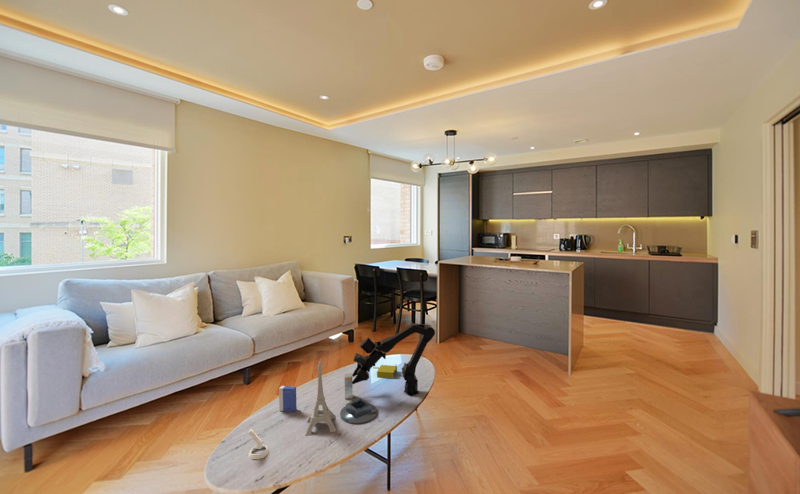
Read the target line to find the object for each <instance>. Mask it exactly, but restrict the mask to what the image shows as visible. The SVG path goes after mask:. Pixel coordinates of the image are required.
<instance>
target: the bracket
mask: <svg viewBox="0 0 800 494" xmlns="http://www.w3.org/2000/svg"><path fill="white" fill-rule="evenodd" d="M372 369H374V370H375V369H376V370H377V371H376V377H377V378H380V379H381V378H382V379H392V380H393V379H394V377H395V376H394V375H395V374H394V373H395V372H396V373H397V372H398V366H397V365H387V364H381V365H380V366H379V367H377V366H373V367H372Z"/></svg>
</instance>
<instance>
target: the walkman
mask: <svg viewBox="0 0 800 494" xmlns="http://www.w3.org/2000/svg"><path fill="white" fill-rule="evenodd" d="M278 389H279V390H278V398H279V400H278V401H279V407H278V408H279V412H287V413H288V412H289V413H295V412H296V411H297V386H294V385H291V386H289V385H281V386H280V387H279V388H278Z"/></svg>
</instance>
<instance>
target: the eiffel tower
mask: <svg viewBox="0 0 800 494" xmlns="http://www.w3.org/2000/svg"><path fill="white" fill-rule="evenodd" d="M317 371H318V376H317V377H318V380H317V382H318V383H317V395H316V396H317V397H315V404H314V407H313V408H311V413H310V414H309V416H308V417H307V418H306V423H308V426H307V428H306V431H304V432H305V433H304V435H305V436H312V433H313V432H312V430H313V428H314V426H315V425H316V424H318V423H325V424H326V425H327V426H328V428H329V433H334V432H336V431H337V427H336V426H335V425H334V423H333V421H332V420H334V419H336V414H334V413H333V412H332V410H330V407H329V406H328V405H327V403H326V397H325V395H324V388H323V387H324V385H323V375H322V374H323V373H322V371H323V364H322V362H321V361H319V362H318V365H317ZM319 406H321V407H320V408H319Z"/></svg>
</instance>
